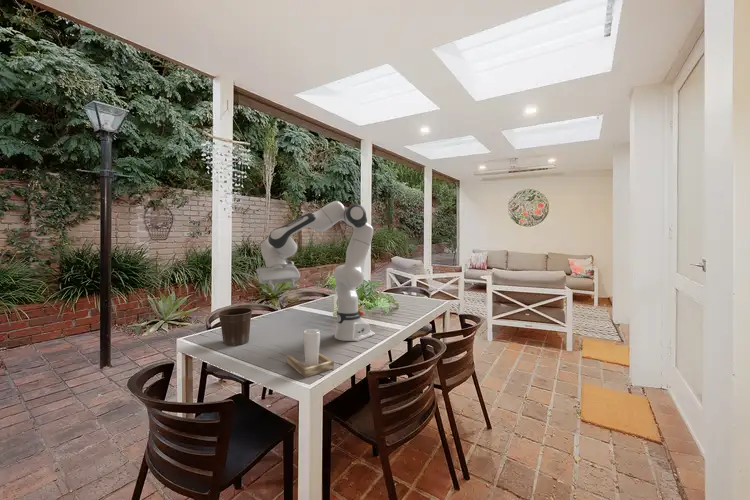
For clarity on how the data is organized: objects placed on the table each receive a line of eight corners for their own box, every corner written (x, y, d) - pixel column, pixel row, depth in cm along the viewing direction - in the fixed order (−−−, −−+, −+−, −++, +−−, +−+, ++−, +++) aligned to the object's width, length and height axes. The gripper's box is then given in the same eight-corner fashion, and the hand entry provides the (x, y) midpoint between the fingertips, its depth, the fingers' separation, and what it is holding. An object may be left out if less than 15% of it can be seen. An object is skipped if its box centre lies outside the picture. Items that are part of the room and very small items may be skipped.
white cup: (300, 368, 130) (300, 332, 129) (308, 362, 136) (309, 328, 136) (314, 370, 128) (314, 334, 127) (322, 364, 134) (323, 329, 133)
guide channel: (313, 355, 145) (313, 349, 145) (333, 368, 132) (333, 361, 132) (286, 362, 137) (286, 355, 137) (305, 377, 123) (305, 369, 123)
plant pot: (210, 344, 157) (210, 313, 156) (236, 335, 172) (235, 306, 171) (235, 349, 151) (235, 316, 150) (259, 339, 166) (259, 309, 165)
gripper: (256, 263, 151) (264, 286, 144) (296, 261, 164) (305, 282, 157) (253, 271, 155) (260, 294, 148) (292, 269, 168) (300, 290, 161)
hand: (283, 288), depth 153 cm, fingers open, 8 cm apart
